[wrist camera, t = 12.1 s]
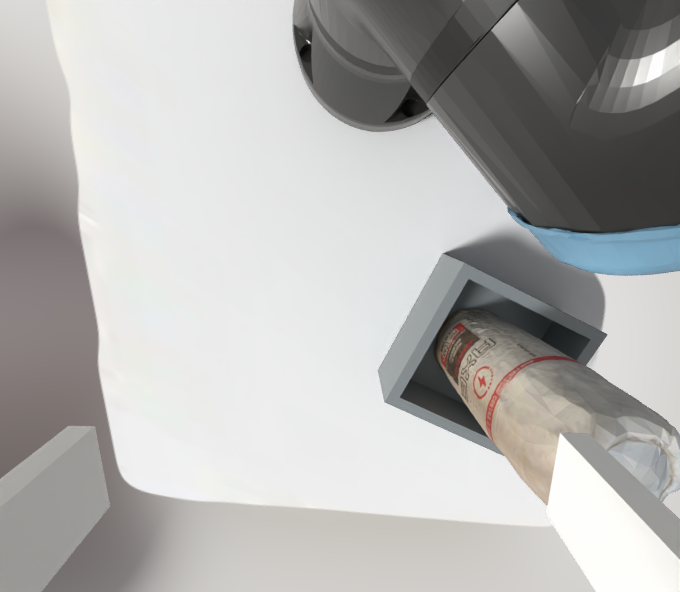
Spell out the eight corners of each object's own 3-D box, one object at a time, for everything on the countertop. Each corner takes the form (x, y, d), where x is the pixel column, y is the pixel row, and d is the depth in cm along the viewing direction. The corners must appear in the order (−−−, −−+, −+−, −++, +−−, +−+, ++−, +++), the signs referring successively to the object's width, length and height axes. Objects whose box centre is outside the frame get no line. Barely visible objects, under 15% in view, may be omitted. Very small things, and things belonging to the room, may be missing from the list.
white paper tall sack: (478, 287, 35) (648, 383, 15) (532, 342, 36) (752, 495, 17) (416, 345, 36) (498, 500, 17) (469, 396, 37) (604, 594, 18)
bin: (442, 253, 35) (464, 262, 29) (561, 313, 36) (607, 334, 30) (377, 370, 38) (384, 402, 32) (490, 421, 39) (517, 462, 33)
